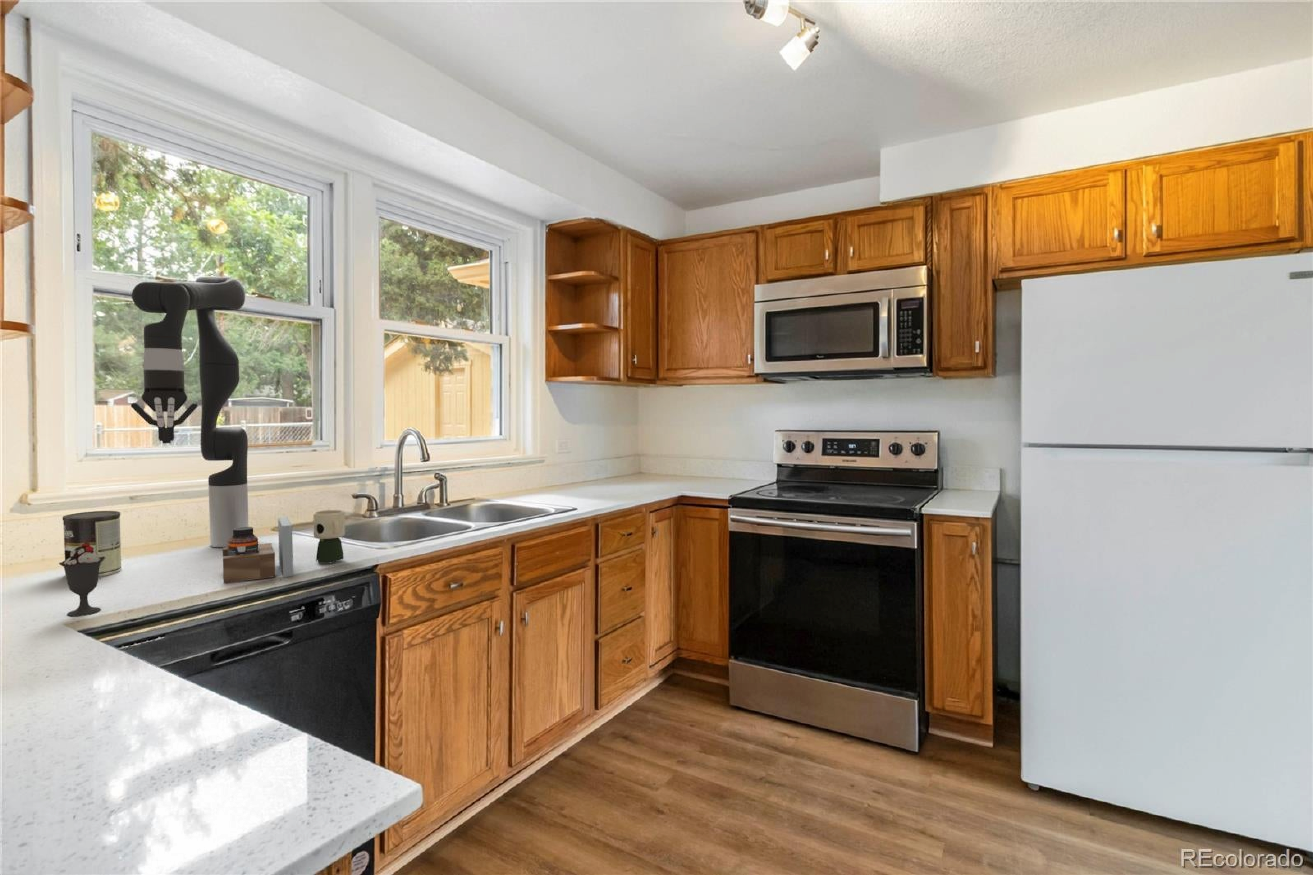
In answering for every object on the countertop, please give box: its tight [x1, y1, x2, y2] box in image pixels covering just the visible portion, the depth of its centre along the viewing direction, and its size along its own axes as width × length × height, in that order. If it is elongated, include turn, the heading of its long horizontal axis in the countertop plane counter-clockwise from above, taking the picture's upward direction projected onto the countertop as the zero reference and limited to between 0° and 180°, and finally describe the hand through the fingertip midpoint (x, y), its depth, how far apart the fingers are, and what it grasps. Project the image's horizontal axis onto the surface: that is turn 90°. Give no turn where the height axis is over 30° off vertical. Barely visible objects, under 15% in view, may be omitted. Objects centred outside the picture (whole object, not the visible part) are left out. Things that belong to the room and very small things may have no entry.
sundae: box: [58, 535, 105, 617], centre depth 125 cm, size 7×7×15 cm
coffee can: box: [62, 510, 123, 578], centre depth 153 cm, size 10×10×14 cm
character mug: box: [312, 509, 346, 564], centre depth 165 cm, size 11×7×13 cm, turn 46°
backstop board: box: [277, 516, 294, 578], centre depth 157 cm, size 13×2×12 cm, turn 34°
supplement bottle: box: [228, 526, 259, 556], centre depth 152 cm, size 6×6×11 cm
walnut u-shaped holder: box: [222, 542, 276, 584], centre depth 153 cm, size 13×10×6 cm
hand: (166, 443), depth 152 cm, fingers closed
